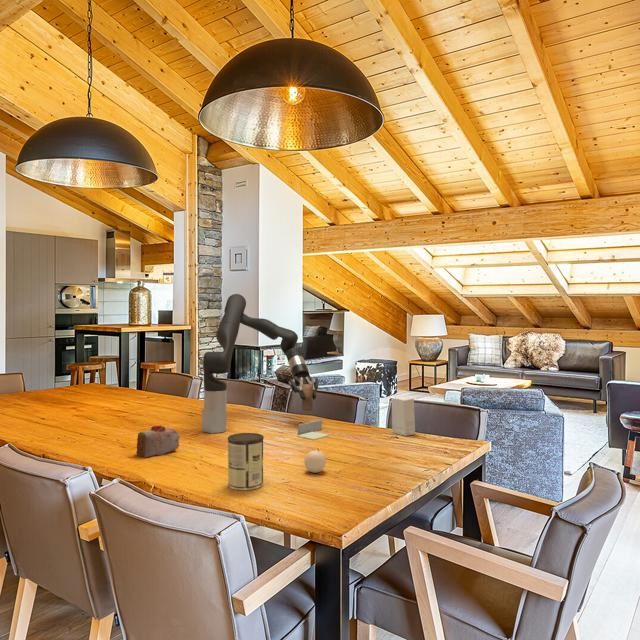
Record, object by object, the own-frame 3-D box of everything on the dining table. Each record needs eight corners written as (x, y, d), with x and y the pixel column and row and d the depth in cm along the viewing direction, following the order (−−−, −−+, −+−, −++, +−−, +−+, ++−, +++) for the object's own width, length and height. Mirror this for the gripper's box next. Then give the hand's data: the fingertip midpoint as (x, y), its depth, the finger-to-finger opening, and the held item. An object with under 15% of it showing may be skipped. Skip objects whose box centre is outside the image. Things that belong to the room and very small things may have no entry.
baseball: (325, 468, 174) (325, 447, 174) (326, 475, 167) (326, 453, 167) (304, 468, 174) (304, 447, 174) (304, 475, 167) (304, 453, 167)
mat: (313, 440, 213) (313, 439, 213) (296, 436, 219) (296, 435, 219) (329, 435, 221) (329, 434, 221) (312, 432, 226) (312, 431, 226)
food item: (168, 447, 200) (168, 421, 199) (181, 451, 194) (181, 424, 194) (134, 455, 189) (134, 426, 189) (147, 459, 184) (147, 430, 184)
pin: (308, 411, 233) (308, 385, 233) (299, 409, 236) (300, 384, 236) (314, 409, 237) (315, 384, 237) (306, 408, 240) (307, 383, 240)
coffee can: (237, 478, 164) (238, 431, 164) (269, 481, 161) (269, 434, 160) (220, 488, 154) (221, 438, 154) (253, 492, 151) (254, 442, 151)
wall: (300, 434, 222) (300, 425, 221) (297, 434, 222) (297, 424, 222) (321, 429, 232) (321, 420, 232) (319, 428, 233) (319, 419, 233)
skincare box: (415, 434, 223) (415, 398, 223) (404, 436, 220) (404, 399, 220) (401, 430, 230) (401, 396, 230) (390, 432, 227) (391, 397, 227)
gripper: (310, 373, 251) (321, 403, 240) (281, 374, 245) (291, 404, 234) (315, 362, 246) (327, 392, 235) (286, 363, 240) (296, 394, 229)
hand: (309, 398), depth 235 cm, fingers closed on pin, 4 cm apart
